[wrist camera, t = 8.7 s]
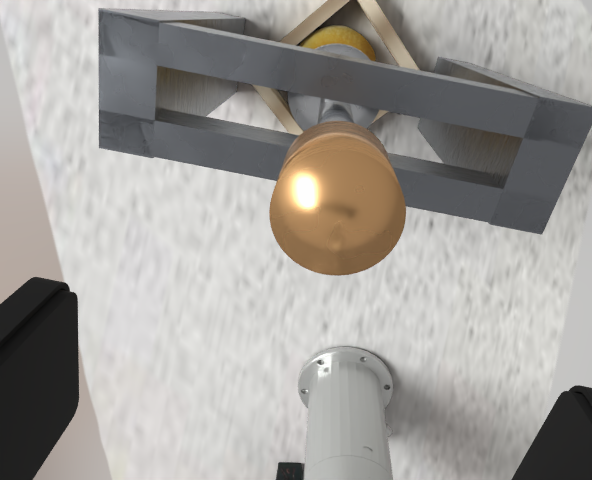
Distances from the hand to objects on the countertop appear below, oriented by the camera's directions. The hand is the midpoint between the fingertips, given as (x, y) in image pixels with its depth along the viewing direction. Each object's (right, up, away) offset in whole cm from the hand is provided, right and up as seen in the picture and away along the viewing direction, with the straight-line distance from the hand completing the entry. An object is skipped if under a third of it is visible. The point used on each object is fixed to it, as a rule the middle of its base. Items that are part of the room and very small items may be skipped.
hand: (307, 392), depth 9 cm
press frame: (+4, +19, +38) cm, 43 cm away
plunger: (+3, +14, +27) cm, 31 cm away
